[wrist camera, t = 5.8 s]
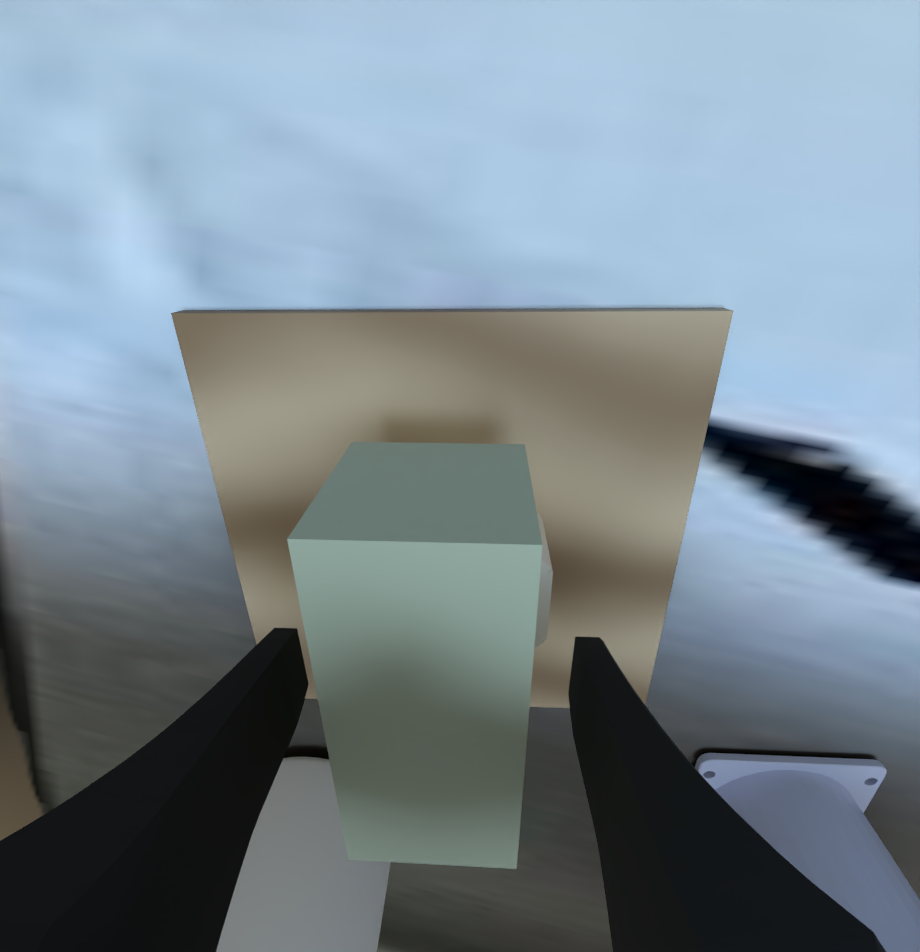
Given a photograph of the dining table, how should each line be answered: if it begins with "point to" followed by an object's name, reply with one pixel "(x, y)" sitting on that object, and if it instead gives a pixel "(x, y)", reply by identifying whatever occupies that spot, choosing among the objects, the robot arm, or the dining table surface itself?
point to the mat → (471, 441)
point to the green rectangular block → (424, 645)
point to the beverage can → (304, 874)
